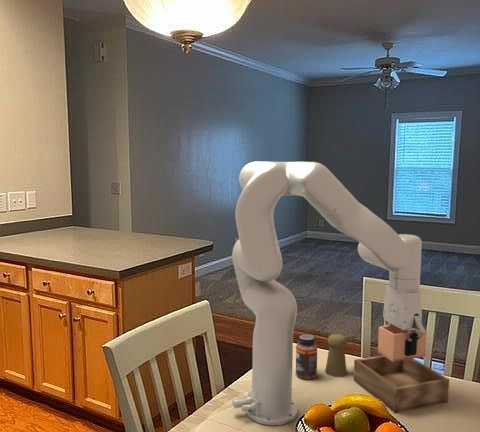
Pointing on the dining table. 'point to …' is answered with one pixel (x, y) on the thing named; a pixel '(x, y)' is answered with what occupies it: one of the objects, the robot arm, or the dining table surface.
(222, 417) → the dining table surface
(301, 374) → the supplement bottle
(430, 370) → the big crate
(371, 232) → the robot arm
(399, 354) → the small crate
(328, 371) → the olive green pawn
